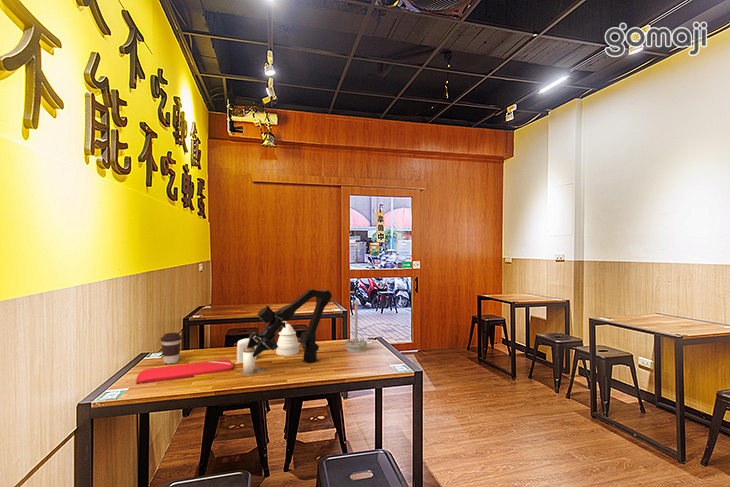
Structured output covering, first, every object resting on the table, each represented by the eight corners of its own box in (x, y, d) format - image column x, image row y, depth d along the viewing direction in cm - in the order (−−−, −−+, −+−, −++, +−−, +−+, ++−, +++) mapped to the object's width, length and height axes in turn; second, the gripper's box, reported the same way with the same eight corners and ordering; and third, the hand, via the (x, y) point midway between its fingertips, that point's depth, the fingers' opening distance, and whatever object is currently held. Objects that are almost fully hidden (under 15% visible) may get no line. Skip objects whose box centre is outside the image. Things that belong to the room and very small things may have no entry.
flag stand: (371, 350, 223) (371, 300, 224) (351, 353, 216) (351, 301, 217) (360, 346, 234) (360, 298, 235) (341, 349, 227) (341, 299, 228)
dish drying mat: (139, 375, 179) (140, 367, 179) (230, 364, 197) (230, 357, 197) (136, 385, 165) (136, 377, 165) (233, 372, 183) (233, 365, 183)
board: (257, 367, 190) (257, 366, 190) (269, 371, 183) (269, 370, 183) (235, 373, 181) (235, 371, 181) (247, 377, 174) (247, 376, 174)
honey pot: (274, 355, 212) (274, 323, 213) (279, 349, 225) (279, 319, 226) (296, 355, 213) (296, 323, 213) (300, 349, 225) (300, 319, 226)
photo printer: (255, 359, 205) (255, 336, 205) (257, 361, 201) (257, 338, 202) (235, 362, 199) (236, 339, 199) (238, 364, 196) (238, 340, 196)
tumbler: (250, 369, 184) (251, 346, 185) (257, 371, 181) (257, 348, 181) (240, 372, 180) (240, 348, 181) (246, 374, 177) (247, 350, 177)
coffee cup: (156, 363, 197) (156, 334, 197) (172, 358, 206) (172, 331, 207) (169, 365, 193) (170, 336, 194) (185, 360, 202) (185, 332, 203)
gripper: (290, 342, 184) (268, 369, 177) (274, 335, 199) (253, 360, 191) (275, 328, 179) (252, 355, 172) (260, 322, 194) (238, 347, 187)
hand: (249, 354), depth 181 cm, fingers open, 9 cm apart
